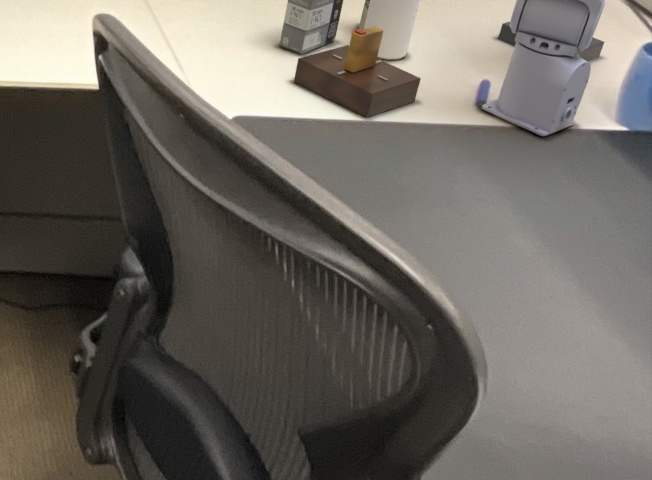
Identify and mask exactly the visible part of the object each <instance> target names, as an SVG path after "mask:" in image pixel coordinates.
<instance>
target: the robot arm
mask: <svg viewBox="0 0 652 480" xmlns="http://www.w3.org/2000/svg"><path fill="white" fill-rule="evenodd" d="M605 4H606V0H516V1H515V4H514V7H513V11H512V14H511V16H510V17H511V18H510V21H509V22H510V28H511V30H512V33H515V34H516V33H517V34H516V37H515V42H516V45H515V46H514V48H513V51H512V54H511V57H510V60H509V63H508V67H507V69H506V72H505V76H504V79H503V83H502V86H501V88H500V92H499V95H498V98H497V99H495V100H492V101H490V102H487V103H484V104H482V105H481V109H482V110H483V111H486V112H488V113H490V114H492V115H494V116H496V117H498V118H501V119H502V120H505V121H507V122H509V123H512V124H514V125H516V126H519V127H520V128H523V129H525V130H526V131H529V132H531V133H533V134H536V135H538V136H540V137H546V136H549V135H552V134H554V133H557V132H558V131H561V130H564V129H566V128H569V127H571V126H573V125H576V120H575V117H576V114H577V112H578V110H579V106H580V104H581V101H582V99H583V96H584V93H585V91H586V87H587V85H588V83H589V80H590V76H591V70H592V69H591V68H592V67H591V63H590V61H586V60H584V59H582V58H581V57H580V56H579V55H578V54H577V50H579V51H583V50H584V49H586V48H588V47H589V45H590V43H591V40H592V38H593V37H594V35H595V32H596V29H597V28H598V24H599V21H600V19H601V16H602V13H603V10H604V7H605Z"/></svg>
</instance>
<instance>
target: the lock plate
mask: <svg viewBox="0 0 652 480" xmlns="http://www.w3.org/2000/svg"><path fill="white" fill-rule="evenodd" d="M349 45H350V44H345V45H342V46H339V47H335V48H331V49H327V50H324V51H321V52H320V51H319V52H316V53H313V54H309V55H306V56H302V57H299V58H297V63H296V67H295V74H294V79H293V83H296V84H297V85H299V86H302V87H303V88H305V89H308V90H309V91H311V92H314V93H315V94H318V95H319V96H322V97H323V98H326V99H328V100H330V101H332V102H334V103H336V104H338V105H340V106H342V107H344V108H346V109H348V110H350V111H352V112H354V113H356V114H359V115H361V116H363V117H364V118H370V117H372V116H376V115H379V114H381V113H384V112H387V111H391V110H394V109H397V108H399V107H402V106H406V105H408V104H411V103H414V102H415V101H416V98H417V94H418V90H419V87H420V84H421V83H420V82H421V77H419V76H417V75H415V74H412V73H411V72H408V71H406V70H404V69H401V68H399V67H397V66H395V65H393V64H391V63H389V62H386V61H385V60H383V59H379V58H377V60H376V64H375V66H374V67H371V68H367V69H364V70H360V71H357V72H354V73H352V72H350V71H348V70H346V69H344V68H345V63H346V59H347V54H348V50H349Z"/></svg>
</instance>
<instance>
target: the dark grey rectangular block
mask: <svg viewBox="0 0 652 480" xmlns="http://www.w3.org/2000/svg"><path fill="white" fill-rule="evenodd" d="M516 34H517V33H516ZM516 34H515V33H512V30H511V28H510V21H506V22H504V23H503V22H502V24H501V28H500V30H499V33H498V37H497V39H498V40H500V41H503V42H504V43H507V44H510V45H512V46H514V47H515V45H516V42H515V37H516ZM604 44H605V41H603V40H601V39H598V38H595V37H594V36H593V38H592V40H591V43H590V45H589V47H588V48H586V49H584V50H583V51H579V50H577V54H578V55H579V56H580V57H581V58H582V59H584V60H586V61H587V62H590V61H591V60H594V59H597V58H599V57H600V55H601V53H602V50H603V47H604Z"/></svg>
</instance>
